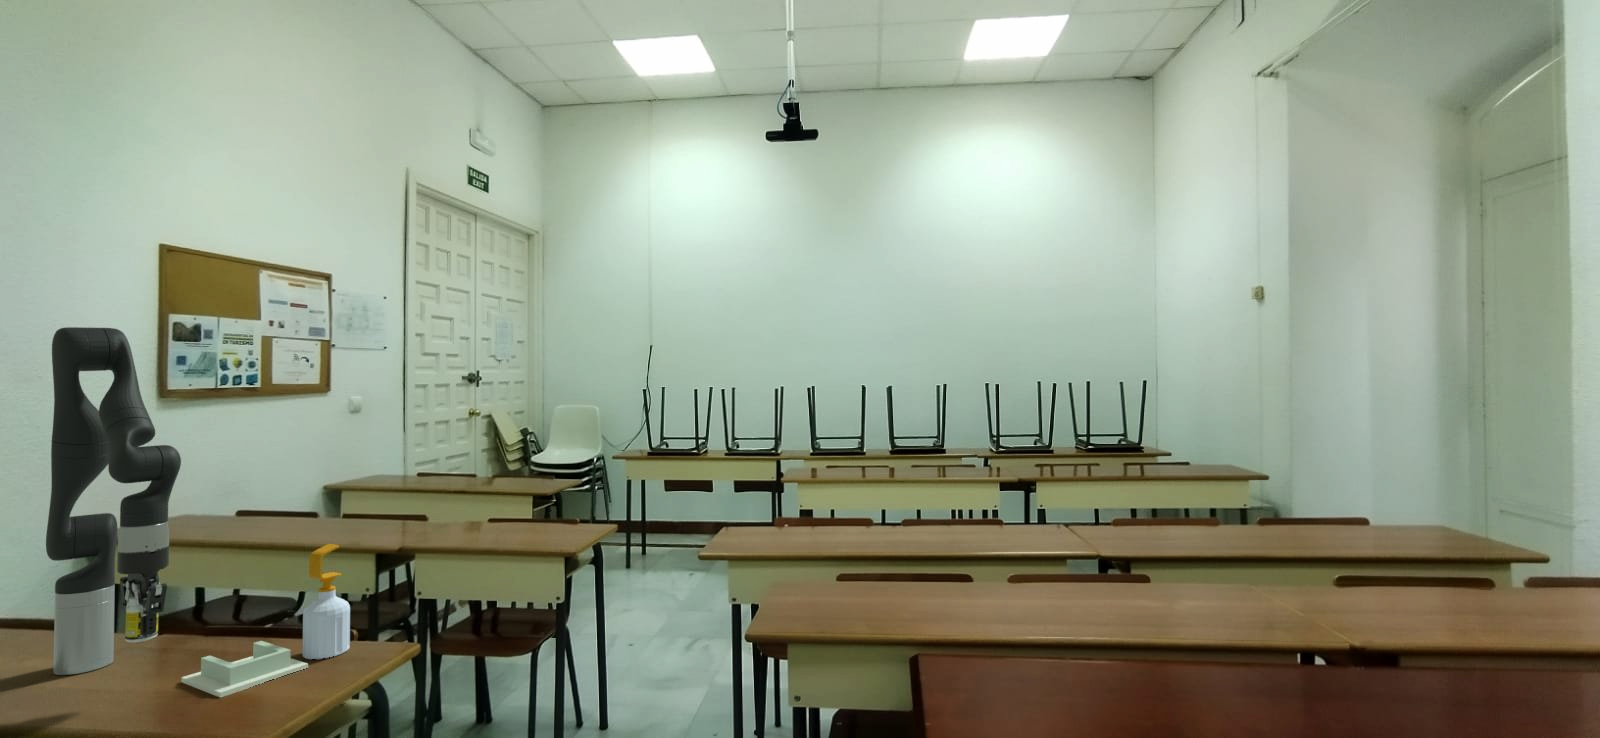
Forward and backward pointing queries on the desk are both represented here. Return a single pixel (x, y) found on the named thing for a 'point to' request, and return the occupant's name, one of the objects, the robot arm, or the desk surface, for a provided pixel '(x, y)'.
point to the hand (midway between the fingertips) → (142, 631)
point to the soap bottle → (325, 614)
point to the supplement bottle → (136, 623)
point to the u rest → (243, 670)
